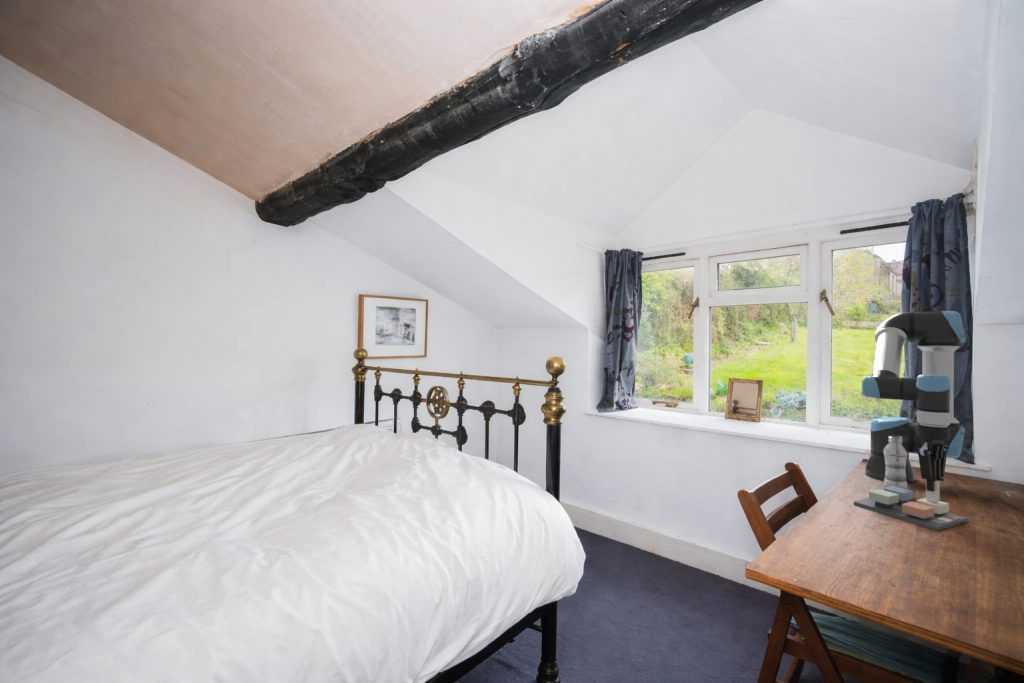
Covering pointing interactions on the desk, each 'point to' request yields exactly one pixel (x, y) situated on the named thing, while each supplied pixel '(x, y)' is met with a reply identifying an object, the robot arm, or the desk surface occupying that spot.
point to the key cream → (935, 505)
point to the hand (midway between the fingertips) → (932, 501)
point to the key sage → (884, 496)
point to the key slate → (900, 492)
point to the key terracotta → (918, 510)
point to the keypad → (896, 511)
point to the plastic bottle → (895, 463)
